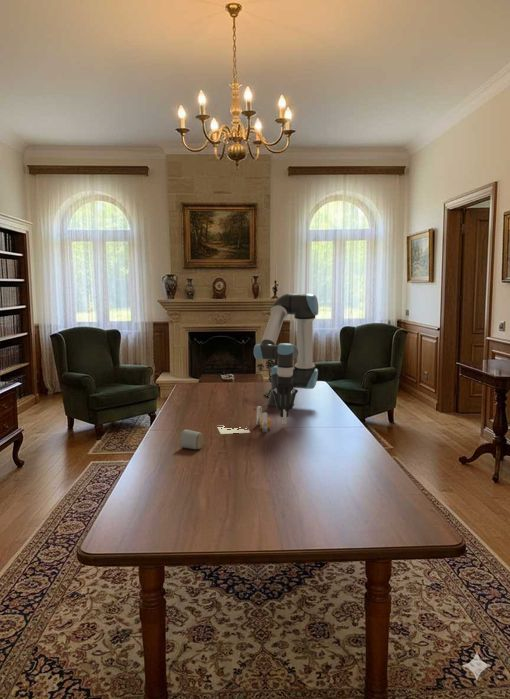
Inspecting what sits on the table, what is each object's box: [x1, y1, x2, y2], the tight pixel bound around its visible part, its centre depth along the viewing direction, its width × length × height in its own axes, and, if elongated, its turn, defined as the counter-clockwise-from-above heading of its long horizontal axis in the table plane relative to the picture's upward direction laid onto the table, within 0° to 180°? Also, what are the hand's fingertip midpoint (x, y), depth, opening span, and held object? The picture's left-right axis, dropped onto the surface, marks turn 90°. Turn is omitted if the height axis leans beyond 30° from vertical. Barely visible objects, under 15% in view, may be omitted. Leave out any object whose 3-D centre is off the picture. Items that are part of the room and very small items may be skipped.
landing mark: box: [216, 425, 251, 435], centre depth 239 cm, size 14×14×1 cm
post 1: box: [256, 405, 263, 426], centre depth 248 cm, size 2×2×9 cm
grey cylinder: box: [179, 428, 205, 450], centre depth 212 cm, size 11×8×8 cm
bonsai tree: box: [252, 352, 277, 397], centre depth 311 cm, size 35×24×32 cm
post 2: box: [261, 411, 269, 433], centre depth 236 cm, size 2×2×9 cm
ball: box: [259, 417, 272, 429], centre depth 242 cm, size 6×6×6 cm
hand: (283, 423), depth 244 cm, fingers closed
